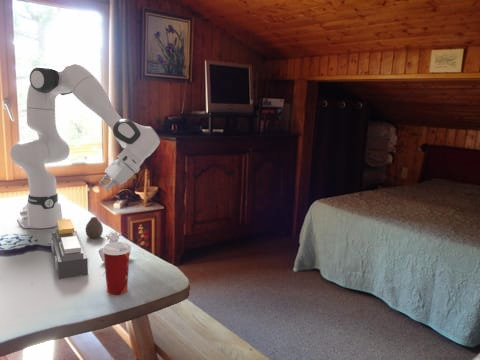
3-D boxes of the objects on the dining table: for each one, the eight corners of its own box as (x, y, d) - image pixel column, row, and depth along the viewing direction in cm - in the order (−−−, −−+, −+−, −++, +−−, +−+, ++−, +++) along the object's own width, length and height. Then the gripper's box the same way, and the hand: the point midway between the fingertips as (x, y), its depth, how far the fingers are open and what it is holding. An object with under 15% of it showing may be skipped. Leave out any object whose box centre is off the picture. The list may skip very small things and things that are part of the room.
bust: (129, 261, 154) (123, 233, 158) (135, 254, 149) (129, 226, 153) (98, 267, 147) (92, 238, 151) (103, 261, 142) (96, 231, 146)
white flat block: (61, 241, 142) (60, 237, 141) (76, 240, 144) (76, 235, 144) (64, 254, 131) (64, 249, 131) (80, 251, 134) (80, 247, 134)
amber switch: (56, 224, 156) (56, 220, 156) (70, 222, 158) (70, 219, 158) (59, 233, 146) (59, 229, 145) (74, 232, 148) (74, 228, 148)
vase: (97, 241, 167) (97, 220, 165) (82, 239, 168) (81, 219, 167) (105, 235, 174) (105, 216, 172) (91, 234, 175) (91, 214, 173)
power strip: (50, 247, 157) (50, 228, 156) (76, 244, 162) (76, 225, 160) (57, 279, 131) (56, 256, 130) (87, 274, 136) (87, 252, 134)
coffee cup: (135, 291, 127) (135, 246, 124) (112, 299, 120) (111, 252, 117) (121, 282, 132) (121, 239, 129) (97, 290, 126) (97, 244, 123)
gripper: (116, 152, 166) (92, 176, 163) (128, 159, 149) (101, 187, 146) (127, 162, 169) (104, 186, 166) (140, 171, 152) (114, 198, 149)
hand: (103, 187), depth 156 cm, fingers open, 8 cm apart
